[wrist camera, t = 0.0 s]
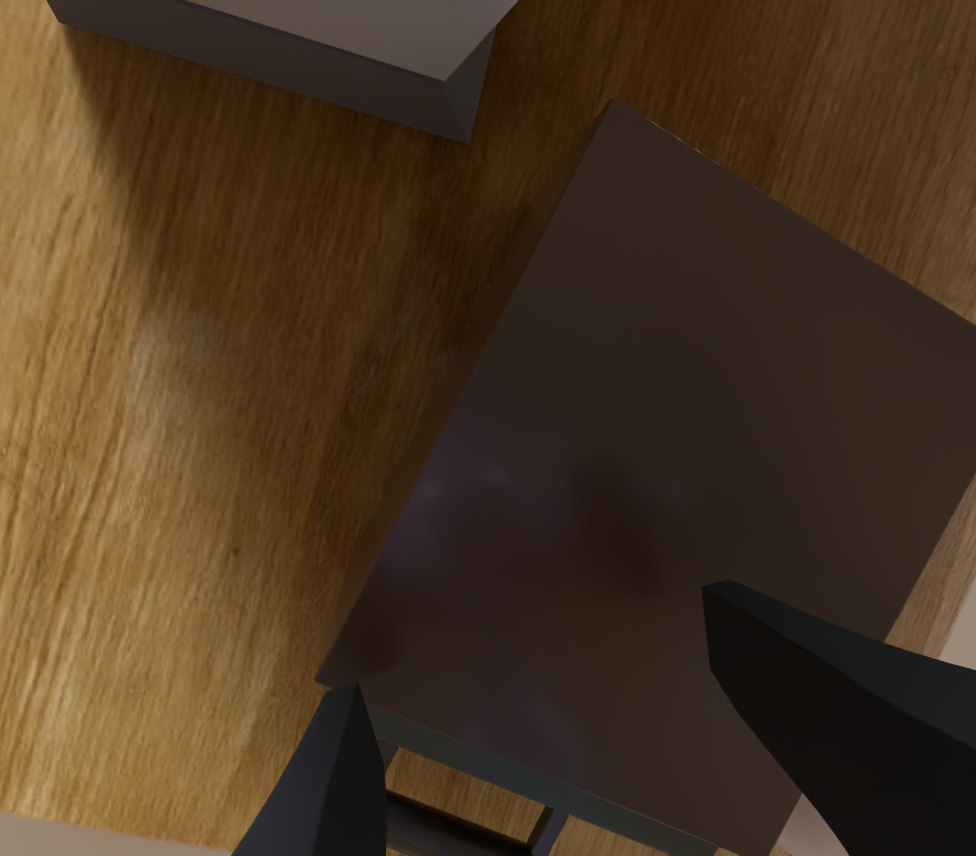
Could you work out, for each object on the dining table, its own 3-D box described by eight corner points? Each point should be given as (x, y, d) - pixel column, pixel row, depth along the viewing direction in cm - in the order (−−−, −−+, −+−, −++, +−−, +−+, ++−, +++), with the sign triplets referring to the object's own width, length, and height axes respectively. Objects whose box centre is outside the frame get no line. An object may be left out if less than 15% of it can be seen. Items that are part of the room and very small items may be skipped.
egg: (700, 664, 24) (825, 791, 17) (807, 664, 25) (971, 787, 18) (688, 773, 25) (806, 943, 17) (793, 771, 25) (949, 934, 18)
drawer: (561, 836, 23) (623, 1026, 17) (285, 727, 21) (228, 892, 15) (785, 411, 23) (944, 429, 16) (522, 263, 21) (576, 213, 14)
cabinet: (639, 691, 24) (764, 866, 16) (349, 561, 22) (312, 682, 14) (811, 364, 24) (1036, 362, 15) (532, 201, 22) (612, 94, 13)
